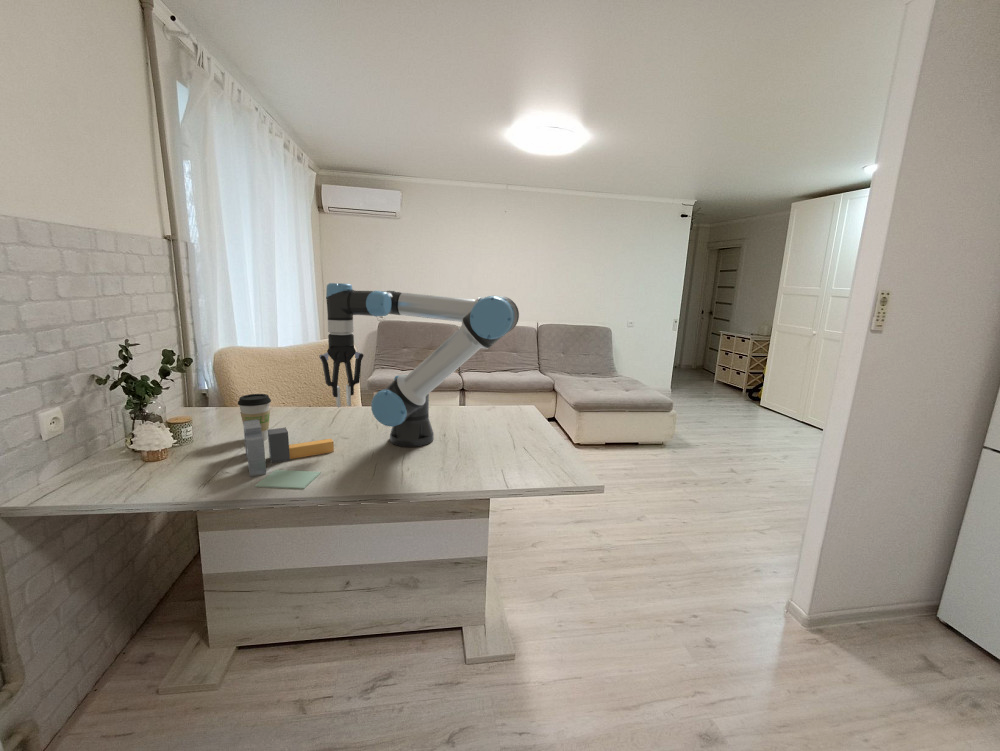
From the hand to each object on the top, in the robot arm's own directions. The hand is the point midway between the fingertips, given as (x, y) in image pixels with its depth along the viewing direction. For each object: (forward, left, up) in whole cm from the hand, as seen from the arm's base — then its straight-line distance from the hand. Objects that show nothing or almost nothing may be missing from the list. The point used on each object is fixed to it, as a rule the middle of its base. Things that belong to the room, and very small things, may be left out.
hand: (343, 405), depth 139 cm
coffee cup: (+32, -5, -15) cm, 36 cm away
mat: (+6, +25, -15) cm, 29 cm away
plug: (+11, +7, -15) cm, 19 cm away
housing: (+21, +15, -15) cm, 30 cm away
